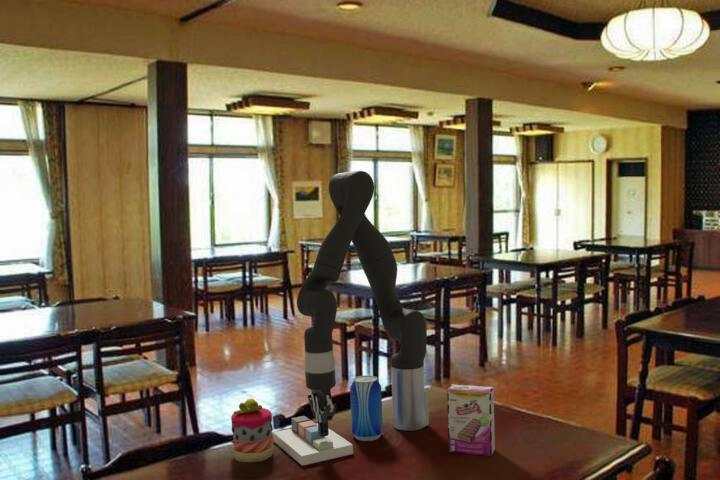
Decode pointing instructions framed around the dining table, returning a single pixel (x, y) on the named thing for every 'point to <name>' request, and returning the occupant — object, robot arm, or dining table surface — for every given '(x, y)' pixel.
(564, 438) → the dining table surface
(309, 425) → the terracotta key
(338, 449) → the keypad frame
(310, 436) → the slate-blue key
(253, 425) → the cake
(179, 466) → the dining table surface
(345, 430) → the dining table surface
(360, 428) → the beer can
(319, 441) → the sage key
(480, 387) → the candy bar box
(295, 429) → the charcoal key
